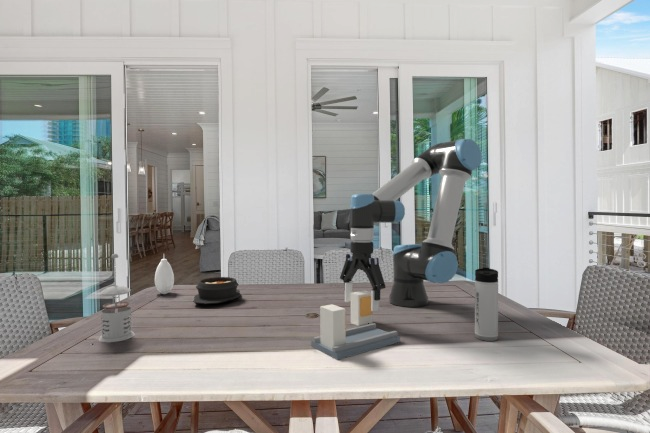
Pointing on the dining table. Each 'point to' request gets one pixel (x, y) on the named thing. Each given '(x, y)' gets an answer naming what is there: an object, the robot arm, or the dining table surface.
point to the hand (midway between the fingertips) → (361, 305)
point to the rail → (348, 335)
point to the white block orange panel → (361, 308)
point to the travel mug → (486, 304)
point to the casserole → (216, 290)
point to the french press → (116, 315)
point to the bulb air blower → (164, 277)
